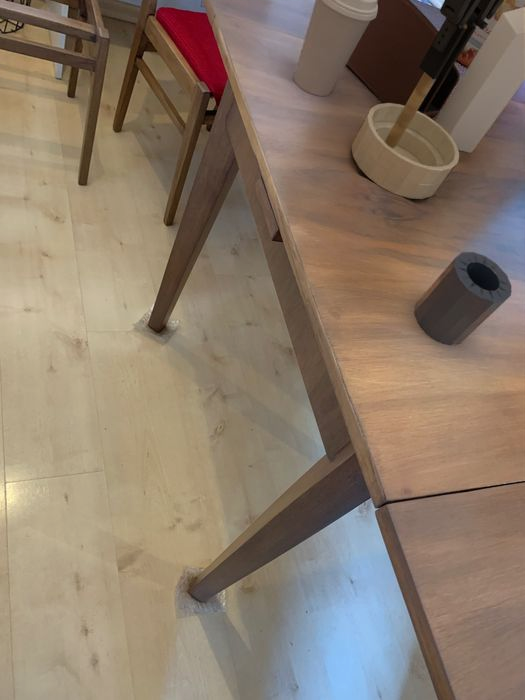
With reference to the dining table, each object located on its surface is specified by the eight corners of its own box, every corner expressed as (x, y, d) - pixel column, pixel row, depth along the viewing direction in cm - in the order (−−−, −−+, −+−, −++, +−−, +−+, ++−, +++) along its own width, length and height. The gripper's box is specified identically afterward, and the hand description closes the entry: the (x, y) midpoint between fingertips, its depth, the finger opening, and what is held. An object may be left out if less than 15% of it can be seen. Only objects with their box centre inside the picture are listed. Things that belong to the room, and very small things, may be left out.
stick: (395, 144, 83) (468, 23, 69) (393, 150, 82) (466, 29, 68) (385, 139, 83) (455, 17, 69) (382, 145, 82) (454, 22, 68)
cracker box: (434, 47, 114) (499, -68, 98) (444, 40, 118) (508, -72, 102) (491, 85, 113) (567, -26, 96) (499, 77, 116) (573, -31, 100)
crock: (465, 316, 70) (512, 269, 63) (460, 358, 65) (510, 312, 58) (416, 292, 70) (457, 242, 63) (407, 332, 65) (451, 283, 58)
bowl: (440, 166, 89) (463, 134, 84) (429, 217, 80) (454, 184, 75) (360, 124, 88) (378, 90, 83) (340, 172, 79) (358, 136, 74)
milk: (441, 146, 92) (531, 10, 75) (431, 124, 96) (516, -11, 78) (471, 153, 94) (567, 22, 77) (461, 131, 97) (550, 1, 80)
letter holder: (401, 123, 92) (449, 39, 81) (330, 51, 99) (366, -35, 88) (437, 116, 98) (487, 37, 87) (368, 49, 104) (407, -33, 93)
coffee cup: (331, 110, 88) (375, 13, 76) (277, 81, 87) (313, -21, 76) (345, 85, 94) (389, -9, 82) (295, 58, 93) (331, -40, 82)
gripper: (565, -161, 60) (442, 49, 78) (500, -181, 52) (379, 60, 70) (620, -126, 58) (481, 82, 76) (562, -140, 50) (421, 97, 68)
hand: (432, 71), depth 73 cm, fingers closed on stick, 2 cm apart
